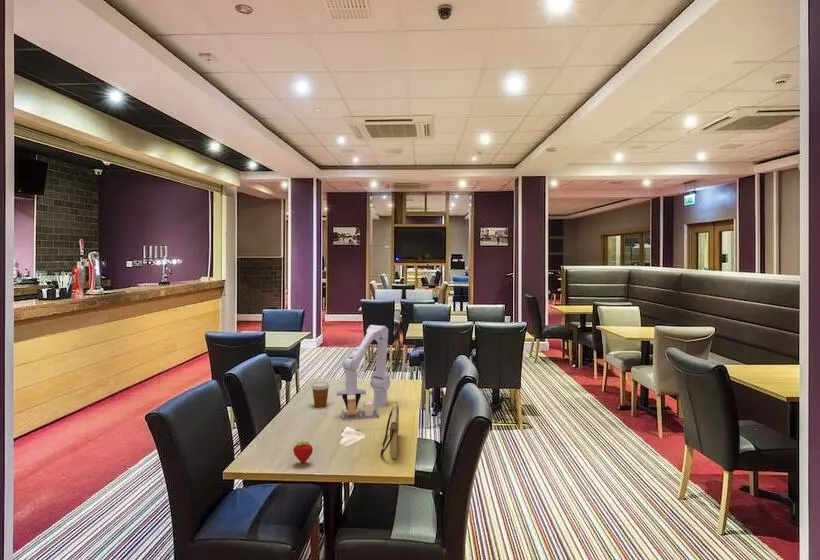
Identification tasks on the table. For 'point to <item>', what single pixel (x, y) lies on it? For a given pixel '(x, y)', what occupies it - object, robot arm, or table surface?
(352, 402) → the terracotta plug
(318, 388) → the disposable coffee cup
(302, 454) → the strawberry
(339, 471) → the table surface
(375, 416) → the slot rack
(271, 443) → the table surface
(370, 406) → the white plug
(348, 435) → the cloth
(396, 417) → the clutch purse
